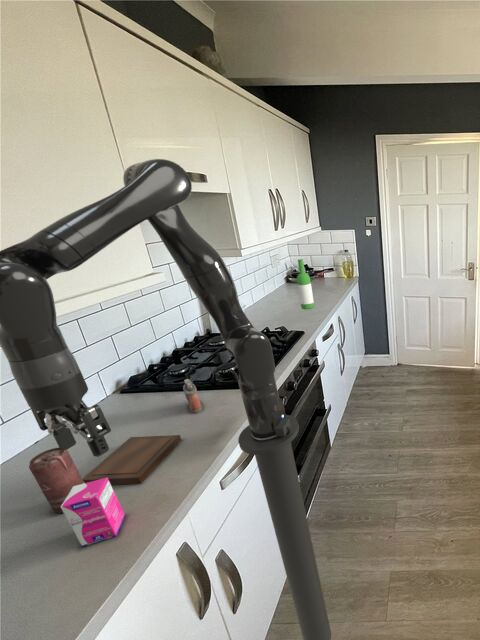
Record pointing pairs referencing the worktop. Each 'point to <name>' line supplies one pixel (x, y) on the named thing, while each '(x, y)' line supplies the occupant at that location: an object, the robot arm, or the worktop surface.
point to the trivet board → (134, 460)
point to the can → (55, 475)
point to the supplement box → (93, 511)
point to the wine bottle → (304, 287)
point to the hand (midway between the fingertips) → (85, 450)
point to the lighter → (192, 396)
